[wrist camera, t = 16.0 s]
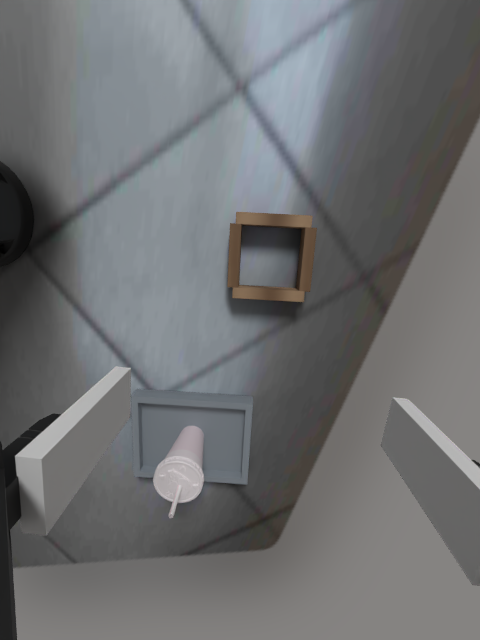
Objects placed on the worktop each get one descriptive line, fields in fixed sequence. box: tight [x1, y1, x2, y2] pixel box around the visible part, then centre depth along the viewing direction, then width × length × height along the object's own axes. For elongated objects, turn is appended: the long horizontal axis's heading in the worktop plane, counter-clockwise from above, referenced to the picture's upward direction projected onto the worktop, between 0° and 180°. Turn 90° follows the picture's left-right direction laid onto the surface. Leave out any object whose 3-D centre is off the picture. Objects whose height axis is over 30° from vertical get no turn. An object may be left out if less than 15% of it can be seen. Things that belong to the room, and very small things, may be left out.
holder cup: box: [228, 212, 317, 302], centre depth 40 cm, size 11×11×3 cm
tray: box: [131, 389, 253, 484], centre depth 47 cm, size 18×14×2 cm
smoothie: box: [153, 426, 204, 518], centre depth 40 cm, size 6×6×14 cm
